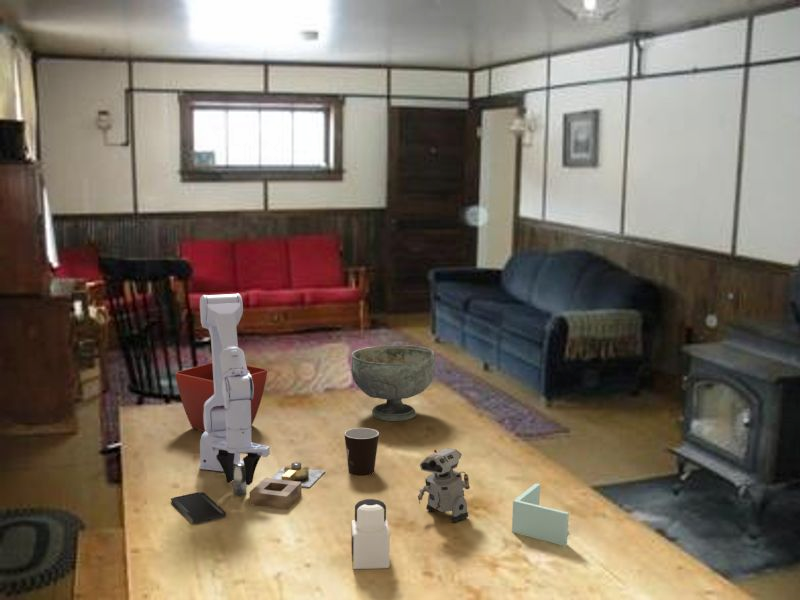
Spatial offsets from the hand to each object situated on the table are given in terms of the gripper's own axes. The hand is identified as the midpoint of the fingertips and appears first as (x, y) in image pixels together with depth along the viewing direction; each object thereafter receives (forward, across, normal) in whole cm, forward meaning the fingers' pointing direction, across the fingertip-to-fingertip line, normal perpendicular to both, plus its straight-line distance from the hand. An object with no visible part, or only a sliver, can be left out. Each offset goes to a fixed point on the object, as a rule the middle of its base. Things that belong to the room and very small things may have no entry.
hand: (239, 482), depth 200 cm
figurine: (+3, +48, 0) cm, 48 cm away
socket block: (+3, +10, -1) cm, 10 cm away
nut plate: (+3, +9, +13) cm, 16 cm away
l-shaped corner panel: (+3, +72, +1) cm, 72 cm away
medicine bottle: (+3, +39, -24) cm, 46 cm away
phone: (+3, -5, -11) cm, 12 cm away
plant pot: (+3, -26, +44) cm, 51 cm away
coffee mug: (+3, +23, +23) cm, 33 cm away
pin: (+3, 0, 0) cm, 3 cm away
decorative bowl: (+3, +18, +70) cm, 72 cm away
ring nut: (+2, +9, +11) cm, 14 cm away
